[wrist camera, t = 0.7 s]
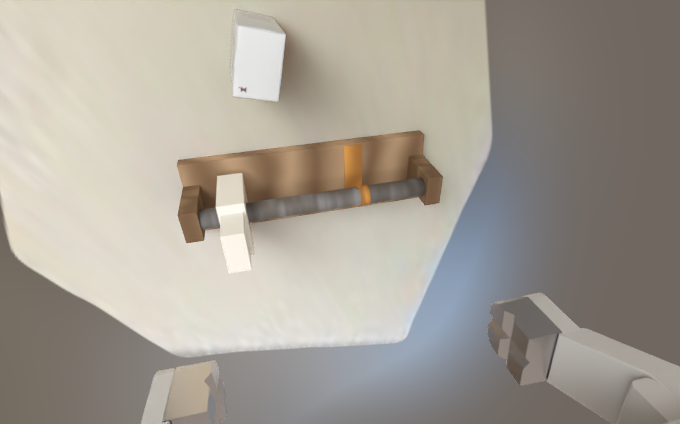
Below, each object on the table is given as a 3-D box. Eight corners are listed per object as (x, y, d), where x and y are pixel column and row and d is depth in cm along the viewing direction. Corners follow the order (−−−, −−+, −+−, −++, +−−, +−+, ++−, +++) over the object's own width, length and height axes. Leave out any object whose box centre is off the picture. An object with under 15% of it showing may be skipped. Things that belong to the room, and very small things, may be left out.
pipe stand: (197, 225, 54) (192, 262, 48) (178, 160, 49) (170, 192, 42) (414, 192, 60) (436, 221, 53) (419, 130, 54) (445, 154, 48)
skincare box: (268, 72, 45) (279, 105, 36) (230, 66, 44) (230, 98, 34) (274, 14, 42) (287, 33, 33) (233, 6, 41) (235, 23, 31)
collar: (228, 223, 52) (228, 281, 43) (217, 175, 48) (214, 228, 39) (251, 220, 52) (255, 276, 43) (242, 172, 48) (245, 223, 39)
